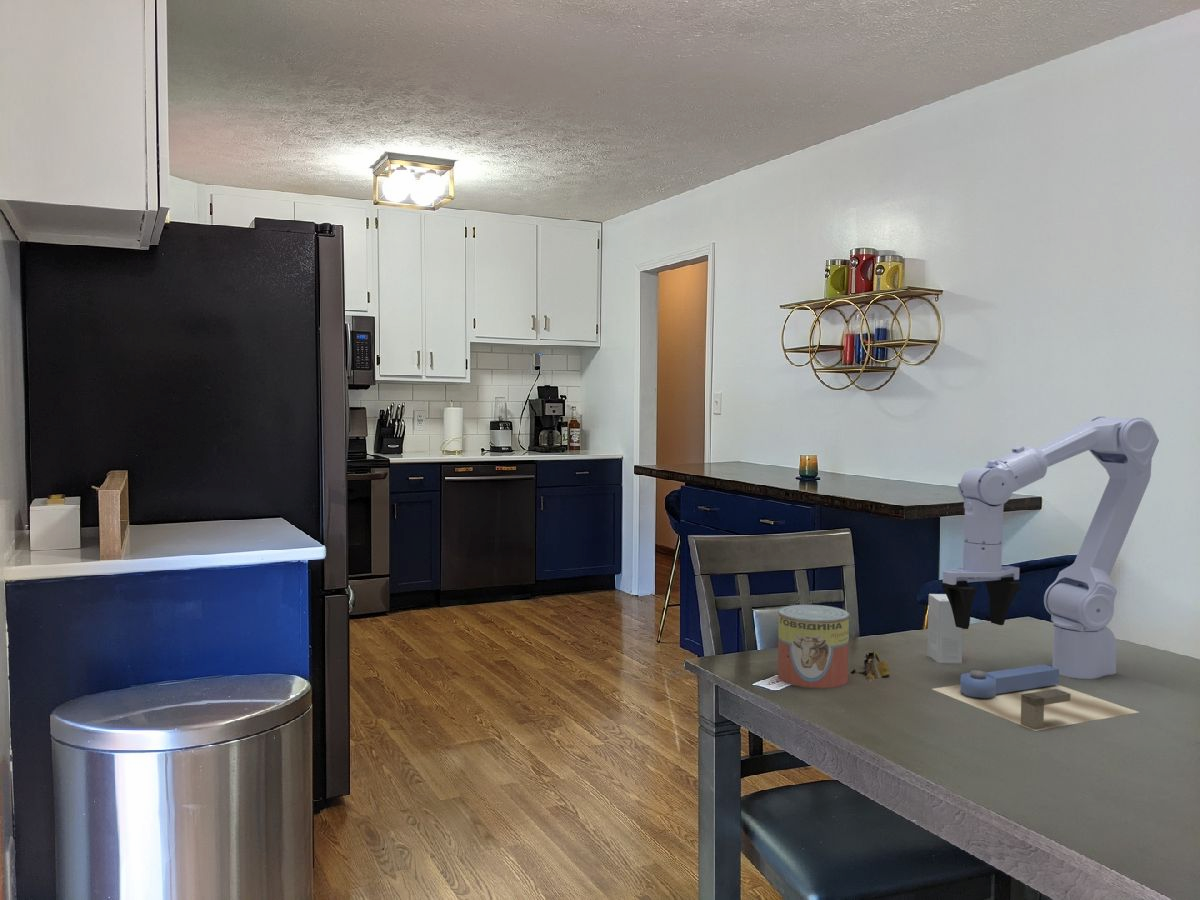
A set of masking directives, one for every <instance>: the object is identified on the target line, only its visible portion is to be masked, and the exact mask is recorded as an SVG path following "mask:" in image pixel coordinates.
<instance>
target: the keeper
mask: <svg viewBox="0 0 1200 900" xmlns="http://www.w3.org/2000/svg"><path fill="white" fill-rule="evenodd" d="M1070 695H1071V694H1070V693H1067V692H1064V691H1061V690H1058V689H1052V690H1046V691H1039V692H1033V693H1027V694H1021V725H1024V726H1026V727H1029V728H1031V729H1034V730H1036V729H1042V728H1043V726H1044V705H1048V704H1054V703H1061V702H1067V701H1070ZM1021 725H1020V726H1021ZM1024 726H1023V727H1024ZM1026 727H1025V728H1026ZM1029 728H1028V729H1029ZM1031 729H1030V730H1031ZM1034 730H1033V731H1034Z"/></svg>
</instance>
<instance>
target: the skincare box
mask: <svg viewBox="0 0 1200 900" xmlns="http://www.w3.org/2000/svg"><path fill="white" fill-rule="evenodd" d="M927 606H928V607H927V608H928V609H927V613H928V614H927V648H926V649H927V652H926V653H927V657H930V658H931V659H932V660H933V661H935V662H936V663H937V664H962V663H963V641H964V640H963V638H964V637H963V633H964V632H963V631H964V629H962V628H959V627H956V625H955V620H954V616H953V612H952V608H951V605H950V602H949V600H948V597H947V595H946V593H929V594H928V605H927Z"/></svg>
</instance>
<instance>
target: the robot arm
mask: <svg viewBox="0 0 1200 900" xmlns="http://www.w3.org/2000/svg"><path fill="white" fill-rule="evenodd" d="M1159 442H1160V439H1159V437H1158V435H1157V433H1156V430H1155V429H1154V426H1153V425H1152V423H1151V422H1150V421H1149V420H1147V419H1146V418H1143V417H1139V416H1135V417H1133V416H1132V417H1106V416H1095V417H1093V418H1091V419H1089V420H1085V421H1083V422H1080V423H1079V424H1078V425H1077V426H1076V427H1074V428H1072V429H1071V430H1068V431H1066V432H1064V433H1063V434H1061V435H1060V436H1058V437H1055V438H1054V439H1052V440H1050V441H1049V442H1047V443H1045V444H1043V445H1041V446H1039V447H1038V448H1034V447H1032V446H1027V445H1026V446H1022V445H1016V446H1015V447H1014V446H1013V448H1011V451H1012V452H1010V453H1008V454H1007V455H1005V456H1002V457H1000V458H998V459H996V458H993V459H992V458H991V459H990V460H988V461H987V464H986V465H985V466H984V467H981V466H974V467H971V468H969V469H967V470H966V471H965V472H964V474H963V475H962V476H961V480H960V482H958V483H957V490H958V493H959V494H960V496H961V497H962V499H963V509H964V520H963V521H964V522H963V523H964V524H963V525H964V526H963V529H964V530H963V551H962V552H963V553H962V554H963V558H962V564H961V565H959V566H958V567H957V568H953V569H947V570H943V571H942V581H941V588H942V590H943V591H944V594H946V595H947V597H948V600H949V602H950V605H951V608H952V612H953V616H954V620H955V625H956V627H959V628H962V629H963V630H968V629H969V628H970V624H971V623H970V622H971V612H972V611H971V610H972V606H973V601H974V599H975V596H976V593H977V592H978V589H977V588H976V587H973V586H972V587H971V586H970V584H968V583H978V582H985V585H986V589H987V594H988V601H989V619H990V623H991V624H993V625H994V624H995V625H998V626H1004V624H1005V621H1006V618H1007V614H1008V612H1009V609H1010V606H1011V604H1012V602H1013V601H1014V598H1015V596H1016V595H1017V594H1018V592H1019V591H1020V589H1021V582H1020V581H1016V580H1019V579H1020V567H1019V566H1011V565H1003V566H1002V561H1003V560H1002V559H1003V558H1002V556H1003V555H1002V554H1003V553H1002V552H1003V529H1004V526H1003V524H1004V506H1005V504H1006V503H1007V502H1008V501H1009V500H1010V498H1011V497H1012V495H1013V493H1014V492H1016V491H1019V490H1020V489H1022V488H1025V487H1027V486H1029V485H1031V484H1033V483H1035V482H1037V481H1039V480H1041V479H1043V478H1045V476H1046V474H1047V471H1048V468H1049V467H1051V466H1054V465H1056V464H1058V463H1061V462H1064V461H1066V460H1068V459H1071V458H1073V457H1076V456H1079V455H1080V454H1082V453H1084V452H1085V453H1086V452H1087V451H1089V453H1091V455H1092V456H1093V457H1094V458H1095V459H1096V461H1097V462H1098V463H1099V464H1100V465H1101V466H1102V467H1103V468H1104V469H1105V470H1106V473H1107V475H1108V477H1109V479H1108V481H1107V484H1106V486H1105V489H1104V491H1103V493H1102V496H1101V498H1100V500H1099V503H1098V505H1097V507H1096V510H1095V512H1094V515H1093V518H1092V520H1091V522H1090V524H1089V526H1088V529H1087V531H1086V534H1085V536H1084V539H1083V541H1082V543H1081V545H1080V548H1079V550H1078V553H1077V555H1076V558H1075V559H1074V562H1073V563H1072V564H1071V565H1069V566H1067V567H1065V568H1063V569H1062V570H1061V571H1060V570H1059V572H1058V575H1057V577H1056V579H1055V580H1054V581H1053V582H1052V583H1051V584H1050V585H1049V586H1048V587H1047V589H1046V590H1045V593H1044V595H1043V604H1044V607H1045V609H1046V612H1047V613H1049V615H1051V617H1050V621H1051V622H1052V624H1053V627H1052V628H1053V629H1052V662H1051V663H1052V664H1051V665H1052V666H1051V667H1054V668H1057V669H1059V676H1063V677H1067V678H1073V679H1079V680H1093V679H1099V678H1101V677H1104V676H1105V677H1106V676H1110V675H1115V674H1116V673H1117V669H1116V668H1117V647H1118V646H1117V639H1116V636H1115V634H1114V632H1113V630H1112V629H1111V628H1109V627H1108V626H1107V625H1109V623H1110V622H1111V620H1112V619H1113V617H1114V614H1115V608H1114V607H1115V605H1114V604H1115V599H1116V596H1117V593H1118V590H1117V587H1116V586H1115V585H1114V583H1113V581H1112V579H1111V578H1110V576H1111V573H1112V571H1113V568H1114V566H1115V564H1116V562H1117V560H1118V557H1119V555H1120V551H1121V550H1122V548H1123V544H1124V543H1125V540H1126V537H1127V535H1128V533H1129V531H1130V528H1131V526H1132V523H1133V521H1134V518H1135V516H1136V514H1137V512H1138V509H1139V506H1140V504H1141V502H1142V500H1143V497H1144V495H1145V492H1146V490H1147V488H1148V485H1149V483H1150V480H1151V477H1152V476H1151V474H1152V462H1153V461H1152V460H1153V457H1154V454H1155V451H1156V449H1157V447H1158V445H1159Z"/></svg>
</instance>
